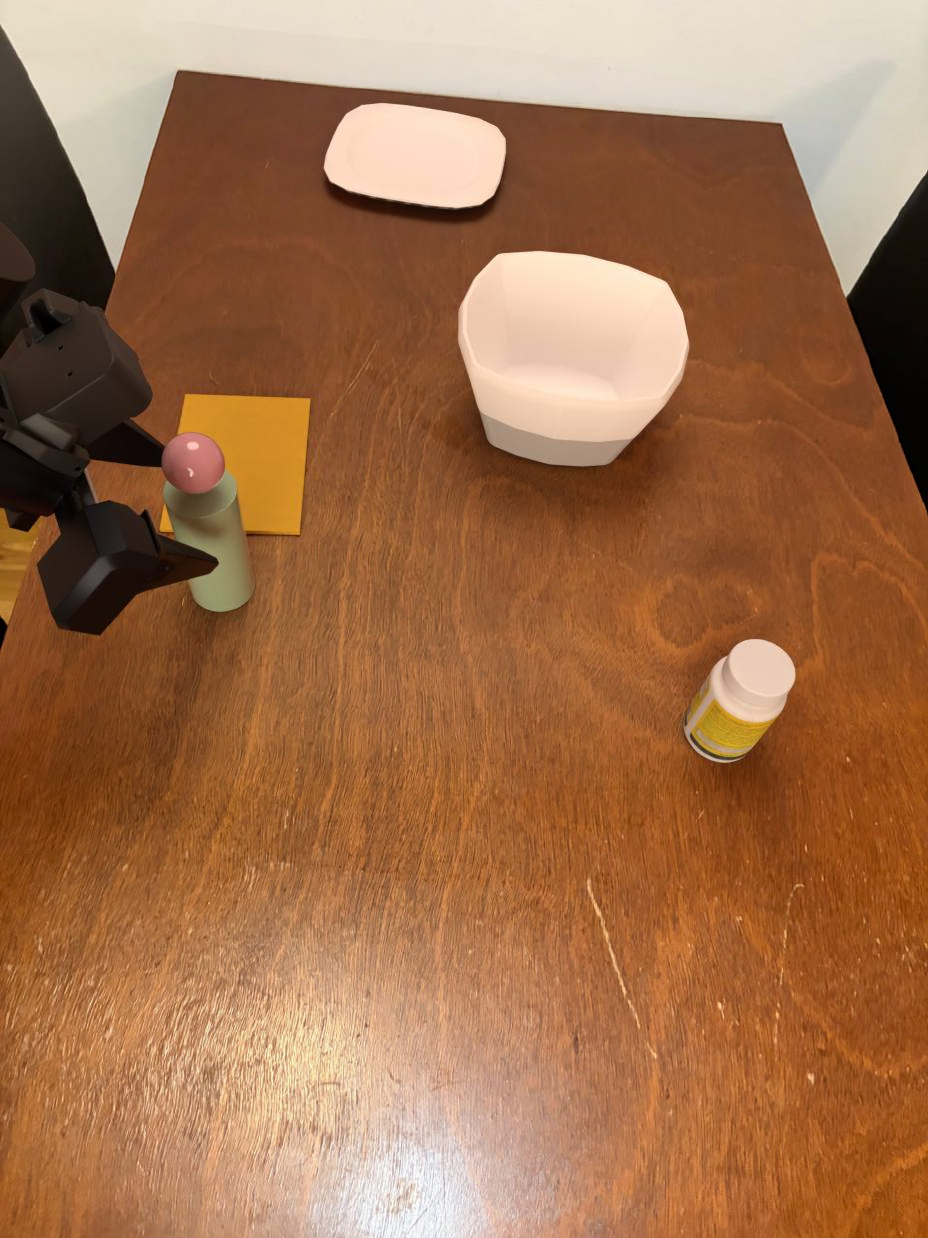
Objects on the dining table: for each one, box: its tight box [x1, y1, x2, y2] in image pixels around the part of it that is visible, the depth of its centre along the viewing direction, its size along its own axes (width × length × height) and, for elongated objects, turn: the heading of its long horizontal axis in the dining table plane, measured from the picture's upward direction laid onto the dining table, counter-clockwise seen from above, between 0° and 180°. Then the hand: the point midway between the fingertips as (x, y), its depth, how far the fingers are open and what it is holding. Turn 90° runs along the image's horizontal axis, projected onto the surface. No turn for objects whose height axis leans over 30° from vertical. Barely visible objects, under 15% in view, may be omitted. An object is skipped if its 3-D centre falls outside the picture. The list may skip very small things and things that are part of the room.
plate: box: [323, 102, 507, 211], centre depth 93 cm, size 18×18×2 cm
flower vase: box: [161, 432, 256, 613], centre depth 56 cm, size 4×4×14 cm
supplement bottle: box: [682, 638, 796, 764], centre depth 56 cm, size 5×5×8 cm
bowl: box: [457, 250, 690, 467], centre depth 71 cm, size 18×18×9 cm
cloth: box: [159, 393, 312, 536], centre depth 68 cm, size 14×10×1 cm
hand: (191, 511), depth 55 cm, fingers open, 9 cm apart
